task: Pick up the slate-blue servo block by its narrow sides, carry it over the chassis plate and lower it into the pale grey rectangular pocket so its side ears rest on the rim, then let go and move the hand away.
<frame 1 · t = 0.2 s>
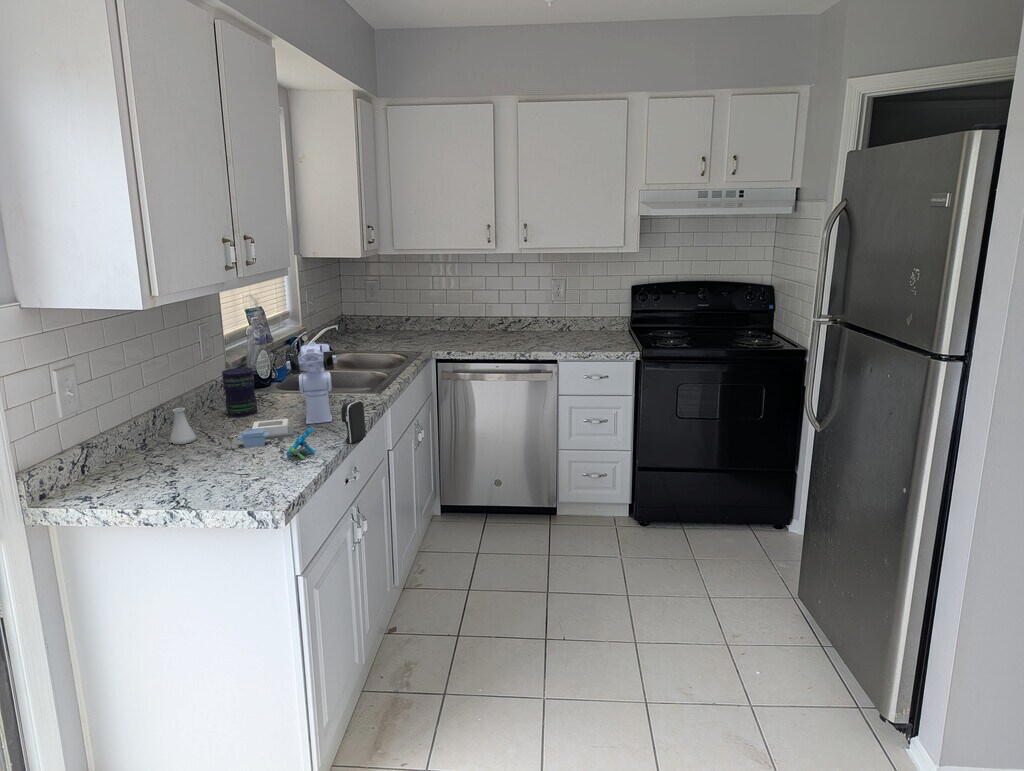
hand: (311, 366, 202), 21 cm above the worktop, tool horizontal, fingers open, 7 cm apart
flask: (183, 442, 208), on the worktop
gear: (300, 455, 192), on the worktop
battery charger: (354, 440, 204), on the worktop
storage jar: (242, 414, 236), on the worktop
servo: (254, 445, 202), on the worktop
chassis: (271, 433, 213), on the worktop
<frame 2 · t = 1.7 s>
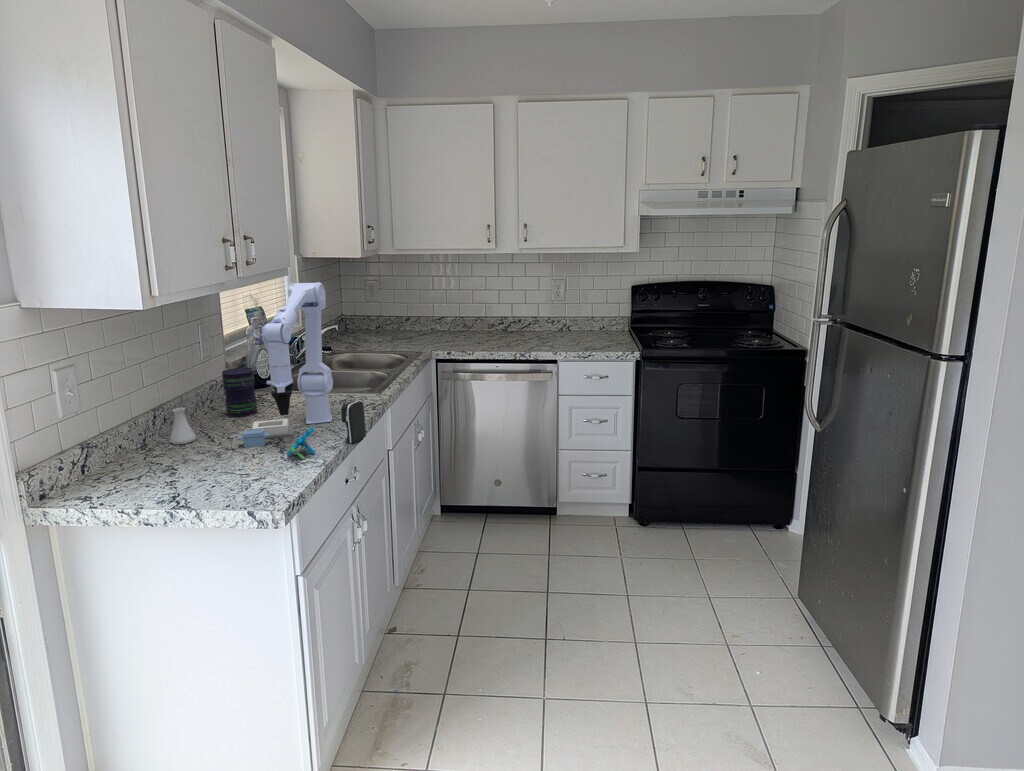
hand: (284, 411, 201), 9 cm above the worktop, tool pointing down, fingers open, 7 cm apart
nothing on the worktop moved.
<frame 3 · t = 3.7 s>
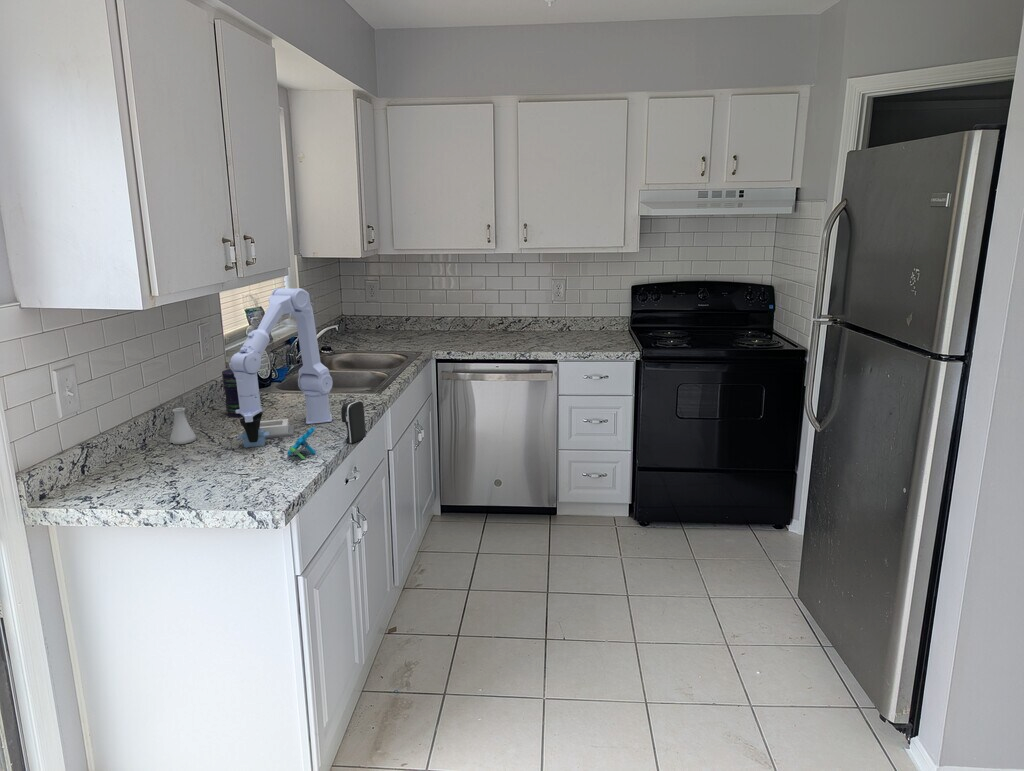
hand: (254, 439, 202), 1 cm above the worktop, tool pointing down, fingers closed on servo, 4 cm apart
servo: (254, 444, 202), on the worktop, touching gripper
everything else where it was.
when the fingers open (4 cm above the worktop, at t = 6.9 s): servo drops 2 cm, resting on chassis.
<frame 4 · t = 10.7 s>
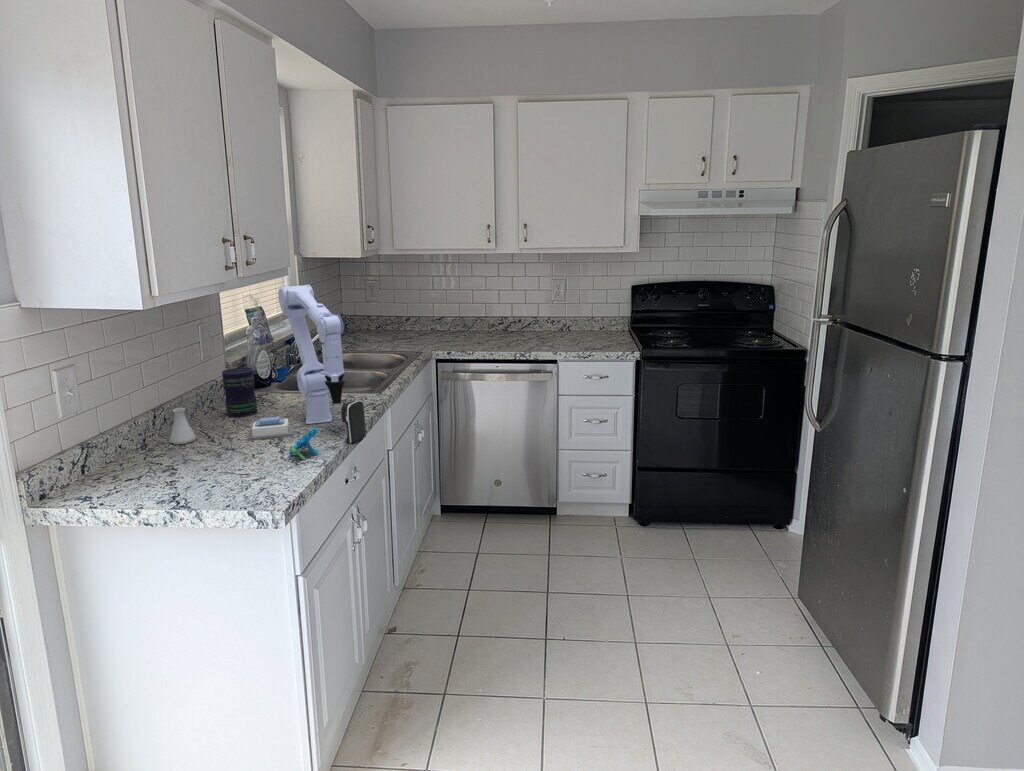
hand: (336, 400, 212), 9 cm above the worktop, tool pointing down, fingers open, 7 cm apart
servo: (271, 431, 213), point 1 cm above the worktop, touching chassis
at the end: servo 0.1 cm off-centre on the chassis, point 0.6 cm above the chassis's base; servo tilted 0°; the gripper is holding nothing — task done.
